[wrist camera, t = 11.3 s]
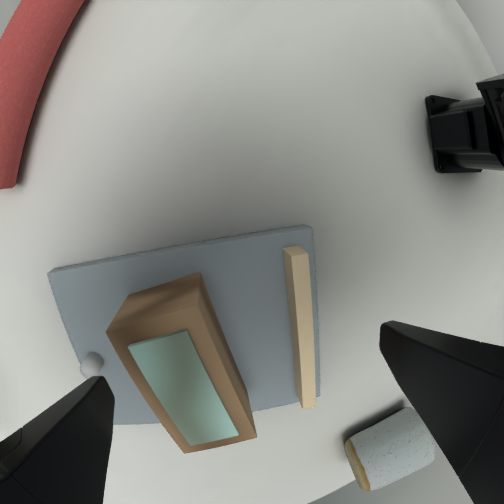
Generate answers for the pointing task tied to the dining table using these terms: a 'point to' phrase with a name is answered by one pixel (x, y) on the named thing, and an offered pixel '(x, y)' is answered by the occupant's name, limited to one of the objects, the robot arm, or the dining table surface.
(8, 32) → the blood vessel
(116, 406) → the grey flat panel
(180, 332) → the frame
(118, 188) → the dining table surface
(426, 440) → the ceramic mug
